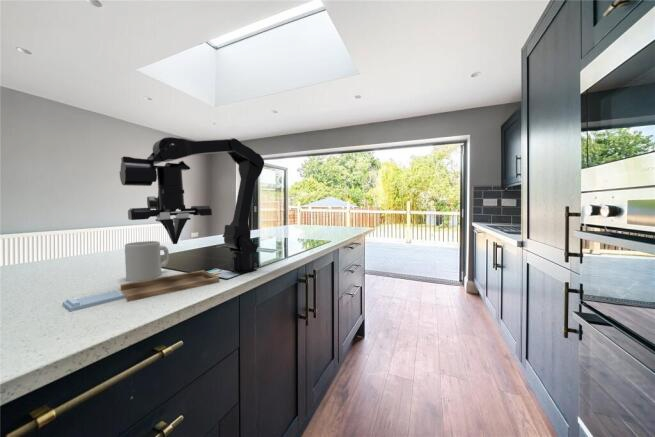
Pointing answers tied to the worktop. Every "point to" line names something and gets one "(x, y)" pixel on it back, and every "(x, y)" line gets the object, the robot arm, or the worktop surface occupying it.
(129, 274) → the mug
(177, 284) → the brown flat wooden tray
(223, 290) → the worktop surface
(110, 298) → the blue mattress with pillow
